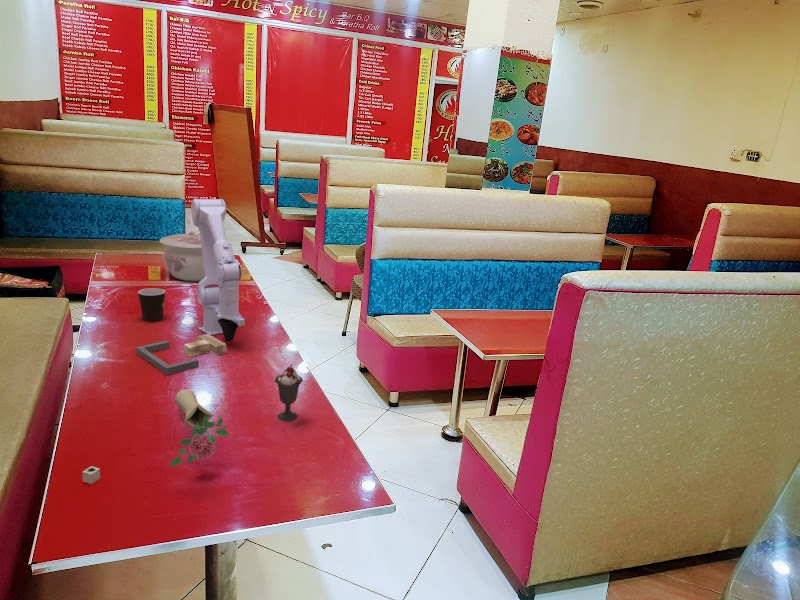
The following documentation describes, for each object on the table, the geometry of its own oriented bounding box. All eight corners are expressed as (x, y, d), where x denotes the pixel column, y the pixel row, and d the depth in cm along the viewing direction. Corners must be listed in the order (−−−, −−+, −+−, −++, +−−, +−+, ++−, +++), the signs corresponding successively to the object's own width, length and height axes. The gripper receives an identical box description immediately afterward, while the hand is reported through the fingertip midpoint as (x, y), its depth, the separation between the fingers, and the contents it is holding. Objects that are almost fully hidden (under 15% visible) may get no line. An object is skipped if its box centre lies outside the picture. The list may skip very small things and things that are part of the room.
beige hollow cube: (91, 475, 113) (90, 464, 112) (100, 478, 112) (99, 467, 111) (82, 481, 111) (82, 470, 110) (91, 484, 110) (91, 473, 109)
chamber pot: (214, 288, 239) (214, 240, 233) (149, 282, 238) (147, 234, 232) (234, 272, 266) (234, 228, 260) (175, 267, 265) (174, 223, 259)
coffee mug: (156, 324, 193) (155, 296, 190) (134, 321, 195) (132, 293, 192) (176, 314, 204) (175, 288, 201) (154, 311, 206) (153, 284, 203)
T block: (207, 342, 182) (207, 333, 181) (226, 353, 175) (226, 344, 175) (178, 349, 175) (177, 340, 174) (196, 361, 168) (196, 351, 167)
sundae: (288, 426, 137) (290, 369, 133) (268, 417, 140) (269, 361, 136) (306, 416, 142) (309, 361, 138) (286, 407, 146) (288, 353, 141)
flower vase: (201, 435, 144) (232, 485, 113) (150, 429, 138) (169, 480, 107) (213, 390, 144) (248, 427, 114) (163, 382, 138) (185, 418, 108)
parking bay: (167, 346, 176) (166, 340, 176) (198, 366, 165) (198, 360, 164) (136, 353, 170) (136, 347, 169) (166, 375, 158) (166, 368, 157)
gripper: (205, 296, 179) (205, 336, 183) (230, 308, 170) (230, 350, 174) (225, 292, 184) (225, 332, 188) (250, 304, 175) (250, 345, 179)
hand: (229, 340), depth 182 cm, fingers closed
